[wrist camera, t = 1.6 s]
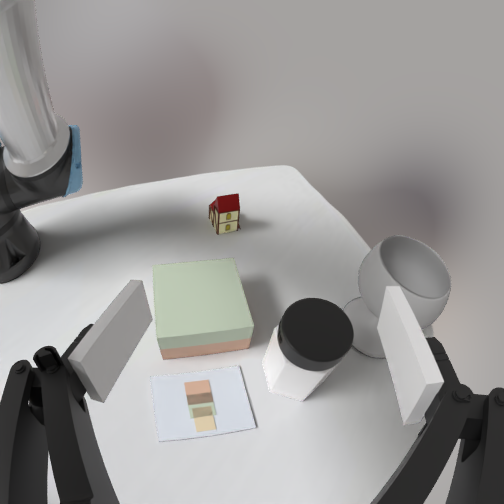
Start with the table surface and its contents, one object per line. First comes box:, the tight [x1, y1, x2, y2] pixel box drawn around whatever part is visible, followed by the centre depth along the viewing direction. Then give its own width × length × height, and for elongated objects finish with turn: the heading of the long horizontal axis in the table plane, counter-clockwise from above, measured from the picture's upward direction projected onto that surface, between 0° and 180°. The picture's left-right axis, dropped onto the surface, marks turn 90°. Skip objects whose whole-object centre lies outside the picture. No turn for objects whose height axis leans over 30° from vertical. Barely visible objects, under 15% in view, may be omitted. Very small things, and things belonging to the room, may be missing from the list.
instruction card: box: [150, 366, 256, 442], centre depth 34 cm, size 9×12×1 cm
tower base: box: [153, 258, 254, 359], centre depth 41 cm, size 12×12×6 cm
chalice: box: [343, 235, 451, 358], centre depth 40 cm, size 14×14×15 cm
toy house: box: [209, 194, 240, 235], centre depth 57 cm, size 6×7×8 cm
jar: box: [262, 298, 354, 401], centre depth 34 cm, size 9×8×12 cm
